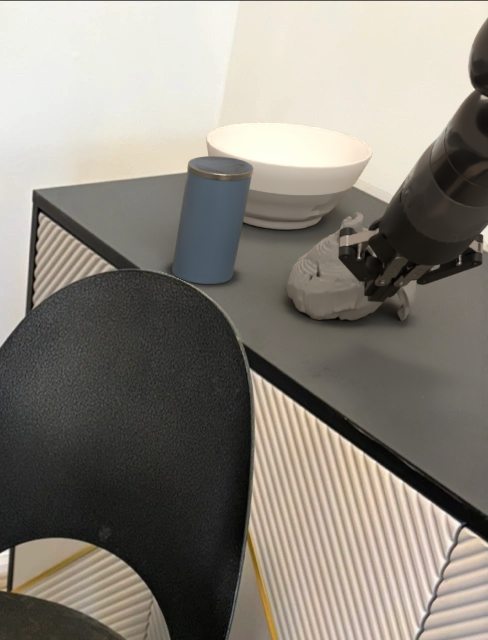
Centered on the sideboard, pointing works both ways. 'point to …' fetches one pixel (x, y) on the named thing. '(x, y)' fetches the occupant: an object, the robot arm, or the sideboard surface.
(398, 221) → the robot arm
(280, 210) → the bowl
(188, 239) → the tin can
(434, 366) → the sideboard surface
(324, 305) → the grey clay mound
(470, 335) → the sideboard surface
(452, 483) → the sideboard surface
